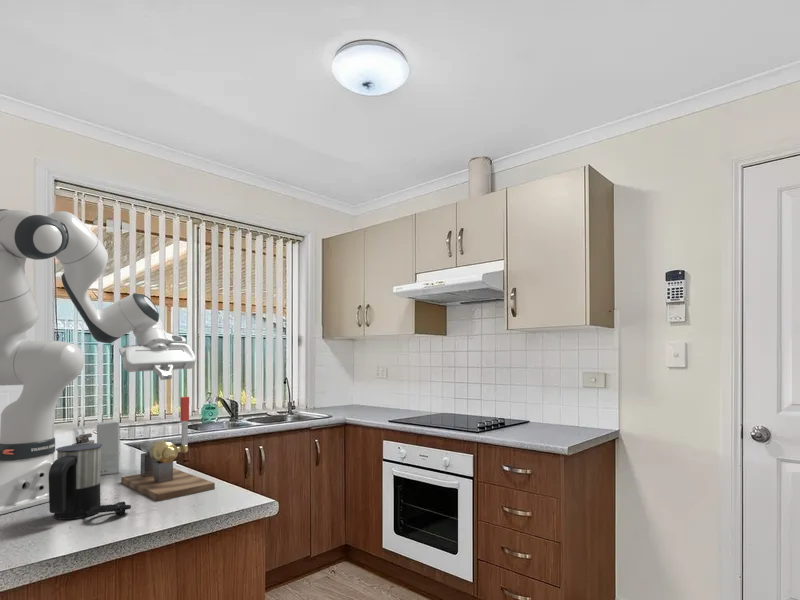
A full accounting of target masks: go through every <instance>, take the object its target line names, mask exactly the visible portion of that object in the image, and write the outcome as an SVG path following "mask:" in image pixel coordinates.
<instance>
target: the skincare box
mask: <svg viewBox="0 0 800 600" xmlns="http://www.w3.org/2000/svg"><path fill="white" fill-rule="evenodd" d="M96 443H100V444H103V445H102V446H101V475H100V476H102V475H114V474H119V473H120V469H121V455H120V454H121V451H120V450H121V448H120V447H121V446H120V443H121V441H120V420H110V421H102V422H98V423H97V425H96Z"/></svg>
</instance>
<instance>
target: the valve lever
mask: <svg viewBox="0 0 800 600" xmlns="http://www.w3.org/2000/svg"><path fill="white" fill-rule="evenodd" d="M179 408H180V409H179V410H180V415H179V416H180V422H181V445H180V446H182V452H181V453H182V454H183V453H188V452H189V445H188V444H189V440H188V439H189V429H188V428H189V426H188V425H189V423H188V422H189V421H190V397H189V396H181V397H180V405H179Z"/></svg>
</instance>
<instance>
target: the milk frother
mask: <svg viewBox="0 0 800 600" xmlns="http://www.w3.org/2000/svg"><path fill="white" fill-rule="evenodd" d="M102 445H103V444H100V443H97V442H94V443H91V444H76V445H72V444H69V445H64V446H59V447H57V448H55V451H57V454H56V455H57V457H56V458H57V459H55V460H54V463H53V464H52V466H51V468H50V471H49V502H48V504H49V506H48V507H49V509H48V510H49V512H50V513H51V514H53V515H52V516H53V518H54V519H55V520H75V519H82V518H87V517H89V516H93V515H95V514H100V513H101V514H102V513H111V512H115V514H116V515H117V516H119V515H120V516H121V515H124V514H125V513H126V511H127V510H131V509H132V505H131V504H126V501H120V502H116V503H114V504H101V476H102V475H101V446H102Z"/></svg>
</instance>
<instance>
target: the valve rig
mask: <svg viewBox="0 0 800 600" xmlns="http://www.w3.org/2000/svg"><path fill="white" fill-rule="evenodd" d="M140 449H141V451H142V452H143V453H140V473H138V474H137V473H136V474H132V475H126V476H122V477H120V481H121V484H123V485H124V486H127V487H129V488H131V489H133V490H134V491H136V492H139V493H141V494H143V495H145V496H147V497H149V498H150V499H152V500H155V501H157V502H160V501H167V500H171V499H175V498H179V497H184V496H188V495H193V494H197V493H202V492H208V491H211V490H215V488H216V486H215V485H216V484H215V482H213V481H210V480H207V479H205V478H203V477H200V476H197V475H193V474H191V473H187V472H185V471H183V470H180V469H178V468H175V467H174V460H176V458H177V457H178V455H179V454H178V453H182V446H181V445H179V446H177V445H176V444H174V443H172V442H169V441H166V440H157V441H155V442H154V441H150V440H145V441H143V442H141V444H140Z"/></svg>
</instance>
